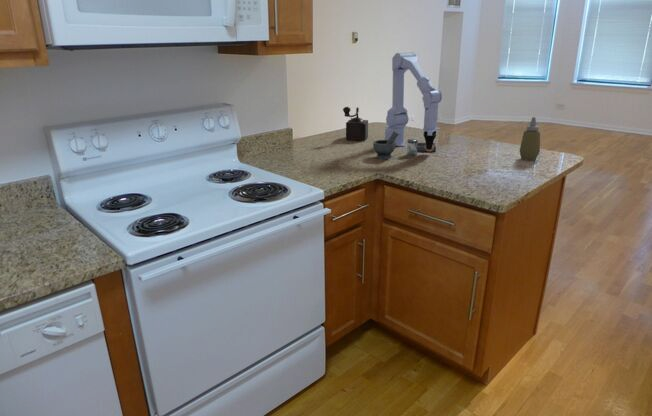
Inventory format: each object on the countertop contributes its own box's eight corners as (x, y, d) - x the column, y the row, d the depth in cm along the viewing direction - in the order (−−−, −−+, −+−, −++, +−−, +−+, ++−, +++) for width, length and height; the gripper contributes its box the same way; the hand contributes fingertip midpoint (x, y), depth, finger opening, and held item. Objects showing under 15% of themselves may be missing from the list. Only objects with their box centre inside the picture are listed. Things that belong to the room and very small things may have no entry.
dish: (411, 151, 220) (411, 146, 219) (412, 147, 227) (412, 142, 226) (435, 151, 217) (435, 146, 217) (435, 147, 225) (435, 143, 224)
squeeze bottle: (540, 161, 197) (546, 119, 190) (520, 161, 198) (525, 118, 192) (536, 157, 204) (542, 115, 198) (516, 156, 206) (521, 115, 199)
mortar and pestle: (371, 159, 207) (372, 132, 203) (374, 154, 216) (374, 128, 211) (397, 160, 205) (398, 133, 200) (398, 155, 213) (399, 129, 209)
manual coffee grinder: (348, 136, 254) (348, 103, 248) (368, 137, 252) (368, 103, 246) (342, 142, 240) (341, 107, 234) (363, 143, 238) (363, 107, 231)
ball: (424, 152, 211) (424, 143, 209) (424, 150, 214) (424, 141, 213) (433, 152, 210) (433, 143, 208) (433, 150, 214) (433, 141, 212)
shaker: (406, 155, 212) (407, 141, 209) (407, 153, 216) (407, 139, 213) (416, 156, 211) (417, 141, 208) (417, 153, 215) (418, 139, 212)
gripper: (440, 121, 199) (438, 152, 204) (439, 115, 213) (438, 144, 217) (423, 120, 201) (421, 151, 206) (424, 115, 214) (422, 144, 219)
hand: (429, 148), depth 212 cm, fingers closed on ball, 4 cm apart
